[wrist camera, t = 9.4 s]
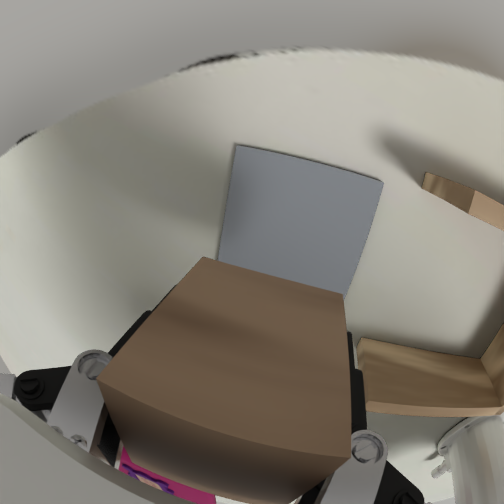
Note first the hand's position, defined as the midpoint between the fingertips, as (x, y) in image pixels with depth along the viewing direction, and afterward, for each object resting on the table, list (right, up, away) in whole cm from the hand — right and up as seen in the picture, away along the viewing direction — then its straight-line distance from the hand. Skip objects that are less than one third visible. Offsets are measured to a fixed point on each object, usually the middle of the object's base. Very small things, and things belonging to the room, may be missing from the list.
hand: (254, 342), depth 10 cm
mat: (+3, +4, +10) cm, 11 cm away
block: (0, 0, +1) cm, 1 cm away
